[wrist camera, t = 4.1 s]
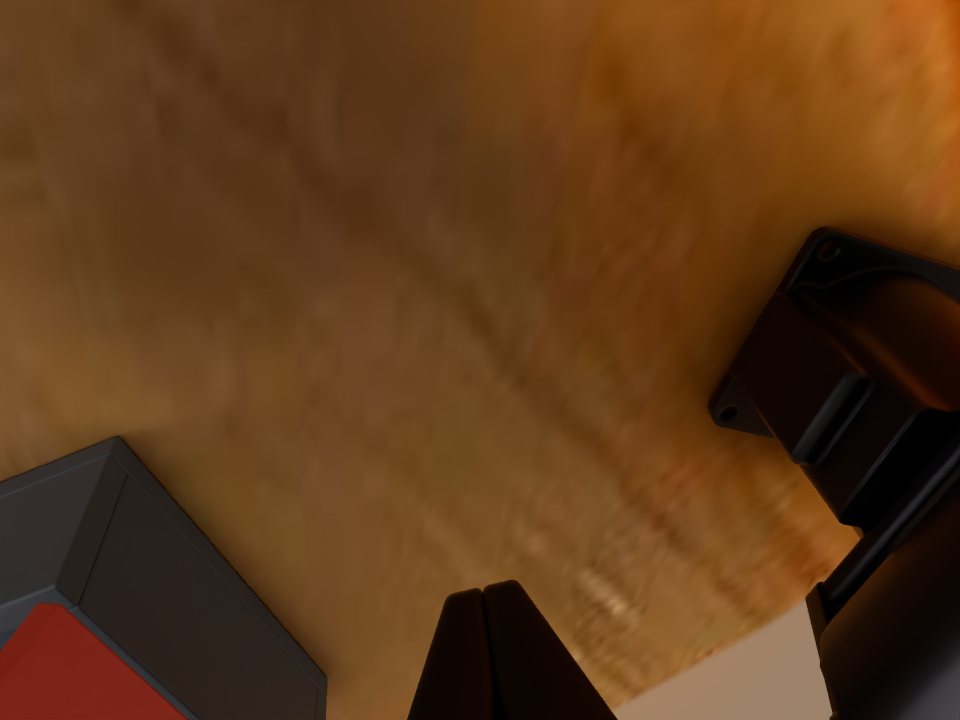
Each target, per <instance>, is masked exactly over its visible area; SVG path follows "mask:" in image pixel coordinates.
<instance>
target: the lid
mask: <svg viewBox="0 0 960 720" xmlns="http://www.w3.org/2000/svg"><path fill="white" fill-rule="evenodd" d="M0 720H189V719H188V718H186V717H185V716H184V715H183V714H182V713H181V712H180V711H179V710H178V709H177V708H175V707H174V706H173V705H172V704H171V703H170V702H169V701H168V700H167V699H165V698H164V697H163V696H162V695H161V694H160V693H159V692H158V691H157V690H156V689H154V688H153V687H152V686H151V685H150V684H149V683H148V682H147V681H146V680H144V679H143V678H142V677H141V676H140V675H139V674H138V673H137V672H136V671H135V670H133V669H132V668H131V667H130V666H129V665H128V664H127V663H126V662H125V661H123V660H122V659H121V658H120V657H119V656H118V655H117V654H116V653H115V652H114V651H112V650H111V649H110V648H109V647H108V646H107V645H106V644H105V643H104V642H102V641H101V640H100V639H99V638H98V637H97V636H96V635H95V634H94V633H93V632H91V631H90V630H89V629H88V628H87V627H86V626H85V625H84V624H83V623H81V622H80V621H79V620H78V619H77V618H76V617H75V616H74V615H73V614H72V613H70V612H69V611H68V610H67V609H66V608H65V607H64V606H63V605H61V604H52V603H38V604H37V605H36V606H35V607H34V609H33V610H32V611H31V612H30V614H29V615H28V616H27V618H26V619H25V620H24V621H23V623H22V624H21V625H20V626H19V628H18V629H17V630H16V632H15V633H14V634H13V635H12V637H11V638H10V639H9V640H8V642H7V643H6V644H5V646H4V647H3V648H2V649H1V651H0Z"/></svg>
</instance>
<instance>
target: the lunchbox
mask: <svg viewBox="0 0 960 720" xmlns="http://www.w3.org/2000/svg"><path fill="white" fill-rule="evenodd" d="M38 603H52V604H61V605H63V606H64V607H65V608H66V609H67V610H68V611H69V612H70V613H72V614H73V615H74V616H75V617H76V618H77V619H78V620H79V621H80V622H81V623H83V624H84V625H85V626H86V627H87V628H88V629H89V630H90V631H91V632H93V633H94V634H95V635H96V636H97V637H98V638H99V639H100V640H101V641H102V642H104V643H105V644H106V645H107V646H108V647H109V648H110V649H111V650H112V651H114V652H115V653H116V654H117V655H118V656H119V657H120V658H121V659H122V660H123V661H125V662H126V663H127V664H128V665H129V666H130V667H131V668H132V669H133V670H135V671H136V672H137V673H138V674H139V675H140V676H141V677H142V678H143V679H144V680H146V681H147V682H148V683H149V684H150V685H151V686H152V687H153V688H154V689H156V690H157V691H158V692H159V693H160V694H161V695H162V696H163V697H164V698H165V699H167V700H168V701H169V702H170V703H171V704H172V705H173V706H174V707H175V708H177V709H178V710H179V711H180V712H181V713H182V714H183V715H184V716H185V717H186V718H188V719H189V720H326V701H327V700H326V697H327V678H326V677H325V675H324V674H323V673H322V672H321V671H320V670H319V668H318V667H317V666H316V665H315V664H314V663H313V662H312V660H311V659H310V658H309V657H308V656H307V655H306V653H305V652H304V651H303V650H302V649H301V648H300V646H299V645H298V644H297V643H296V642H295V641H294V639H293V638H292V637H291V636H290V635H289V634H288V633H287V631H286V630H285V629H284V628H283V627H282V626H281V624H280V623H279V622H278V621H277V620H276V619H275V617H274V616H273V615H272V614H271V613H270V612H269V611H268V609H267V608H266V607H265V606H264V605H263V604H262V602H261V601H260V600H259V599H258V598H257V597H256V595H255V594H254V593H253V592H252V591H251V590H250V588H249V587H248V586H247V585H246V584H245V583H244V582H243V580H242V579H241V578H240V577H239V576H238V575H237V573H236V572H235V571H234V570H233V569H232V568H231V566H230V565H229V564H228V563H227V562H226V561H225V560H224V558H223V557H222V556H221V555H220V554H219V553H218V551H217V550H216V549H215V548H214V547H213V546H212V544H211V543H210V542H209V541H208V540H207V539H206V537H205V536H204V535H203V534H202V533H201V532H200V531H199V529H198V528H197V527H196V526H195V525H194V524H193V522H192V521H191V520H190V519H189V518H188V517H187V515H186V514H185V513H184V512H183V511H182V510H181V508H180V507H179V506H178V505H177V504H176V503H175V502H174V500H173V499H172V498H171V497H170V496H169V495H168V493H167V492H166V491H165V490H164V489H163V488H162V486H161V485H160V484H159V483H158V482H157V481H156V480H155V478H154V477H153V476H152V475H151V474H150V473H149V471H148V470H147V469H146V468H145V467H144V466H143V464H142V463H141V462H140V461H139V460H138V459H137V457H136V456H135V455H134V454H133V453H132V452H131V451H130V449H129V448H128V447H127V446H126V445H125V444H124V442H123V441H122V440H121V439H120V438H119V437H114V438H112V439H109V440H107V441H104V442H102V443H99V444H97V445H94V446H92V447H89V448H87V449H84V450H82V451H79V452H77V453H74V454H72V455H69V456H67V457H64V458H62V459H59V460H57V461H54V462H52V463H49V464H47V465H44V466H42V467H39V468H37V469H34V470H32V471H29V472H27V473H24V474H22V475H19V476H17V477H14V478H12V479H9V480H7V481H4V482H2V483H0V651H1V649H2V648H3V647H4V646H5V644H6V643H7V642H8V640H9V639H10V638H11V637H12V635H13V634H14V633H15V632H16V630H17V629H18V628H19V626H20V625H21V624H22V623H23V621H24V620H25V619H26V618H27V616H28V615H29V614H30V612H31V611H32V610H33V609H34V607H35V606H36V605H37V604H38Z"/></svg>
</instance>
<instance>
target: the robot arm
mask: <svg viewBox="0 0 960 720" xmlns="http://www.w3.org/2000/svg"><path fill="white" fill-rule="evenodd" d="M829 241H832V242H831V245H830V247H829V248H828V249H827V250H825V251H823V252H820V251H821V248H822V246H823V245H824V244H825V243H827V242H829ZM727 407H731V408H730V409H729V410H728V411H726V412H722V411H723V410H724V409H725V408H727ZM708 413H709V415H710V416H711V418H712V420H713V421H714V422H715V424H716V425H718V426H721V427H725V428H729V429H734V430H739V431H743V432H748V433H752V434H757V435H762V436H766V437H771V438H775V439H776V440H777V441H778V442H779V444H780V445H781V447H782V448H783V449H784V451H785V452H786V454H787V455H788V457H789V458H790V459H791V461H792V462H794V463H795V464H799V466H800V467H801V468H802V470H803V471H804V473H805V474H806V476H807V477H808V478H809V480H810V481H811V483H812V484H813V485H814V487H815V488H816V490H817V491H818V492H819V494H820V495H821V497H822V498H823V499H824V501H825V502H826V504H827V505H828V506H829V508H830V509H831V511H832V512H833V514H834V515H835V516H836V518H837V519H838V521H839V522H840V523H842V524H844V525H849V526H852V527H853V529H854V530H855V532H856V533H857V534H858V536H859V537H860V538H861V539H860V541H859V542H858V543H857V544H856V545H855V546H854V548H853V549H852V550H851V551H850V552H849V553H848V555H847V556H846V557H845V558H844V559H843V560H842V562H841V563H840V564H839V565H838V566H837V567H836V569H835V570H834V571H833V572H832V573H831V574H830V576H829V577H828V578H827V579H826V580H825V582H819V583H817V584H816V586H815V587H814V588H813V589H812V590H811V592H810V593H809V594H808V595H807V596H806V604H807V608H808V612H809V616H810V621H811V625H812V629H813V633H814V637H815V641H816V646H817V650H818V654H819V658H820V668H821V671H822V673H823V676H824V679H825V683H826V687H827V692H828V696H829V700H830V704H831V708H832V712H833V714H832V716H831V717H830V720H960V267H958V266H954V265H951V264H948V263H945V262H942V261H939V260H936V259H932V258H929V257H926V256H923V255H920V254H917V253H913V252H910V251H907V250H904V249H901V248H898V247H895V246H891V245H888V244H885V243H882V242H879V241H876V240H873V239H869V238H866V237H863V236H860V235H857V234H854V233H851V232H847V231H844V230H841V229H838V228H835V227H830V226H825V227H821V228H818V229H817V230H815V231H814V232H812V233H811V234H810V236H809V237H808V238H807V239H806V241H805V243H804V244H803V246H802V248H801V249H800V251H799V253H798V254H797V256H796V258H795V259H794V261H793V263H792V265H791V266H790V268H789V270H788V271H787V273H786V275H785V276H784V278H783V280H782V281H781V283H780V285H779V286H778V288H777V290H776V291H775V293H774V295H773V296H772V297H771V298H770V300H769V302H768V303H767V305H766V307H765V308H764V310H763V312H762V313H761V315H760V317H759V318H758V320H757V322H756V323H755V325H754V327H753V328H752V330H751V332H750V334H749V335H748V337H747V339H746V340H745V342H744V344H743V345H742V347H741V349H740V350H739V352H738V354H737V355H736V357H735V359H734V360H733V362H732V364H731V366H730V369H729V370H728V372H727V374H726V375H725V377H724V379H723V380H722V382H721V384H720V385H719V387H718V389H717V391H716V392H715V394H714V396H713V397H712V399H711V401H710V402H709V405H708ZM407 720H618V719H617V718H616V717H615V715H614V714H613V712H612V711H611V710H610V708H609V707H608V705H607V704H606V703H605V701H604V700H603V699H602V697H601V696H600V694H599V693H598V692H597V690H596V689H595V687H594V686H593V685H592V683H591V682H590V680H589V679H588V678H587V676H586V675H585V673H584V672H583V671H582V669H581V668H580V667H579V665H578V664H577V662H576V661H575V660H574V658H573V657H572V655H571V654H570V653H569V651H568V650H567V648H566V647H565V646H564V644H563V643H562V642H561V640H560V639H559V637H558V636H557V635H556V633H555V632H554V630H553V629H552V628H551V626H550V625H549V623H548V622H547V621H546V619H545V618H544V616H543V615H542V614H541V612H540V611H539V610H538V608H537V607H536V605H535V604H534V603H533V601H532V600H531V598H530V597H529V596H528V594H527V593H526V591H525V590H524V589H523V587H522V586H521V585H520V583H519V582H517V581H516V580H508V581H504V582H499V583H495V584H491V585H488V586H486V587H485V588H484V590H483V592H482V591H481V590H480V589H478V588H474V589H470V590H465V591H461V592H457V593H453V594H450V595H449V596H448V597H447V599H446V600H445V603H444V606H443V609H442V612H441V615H440V618H439V621H438V624H437V628H436V631H435V634H434V637H433V640H432V643H431V646H430V650H429V653H428V656H427V659H426V662H425V665H424V668H423V671H422V675H421V678H420V681H419V684H418V687H417V690H416V693H415V697H414V700H413V703H412V706H411V709H410V712H409V715H408V719H407Z"/></svg>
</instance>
